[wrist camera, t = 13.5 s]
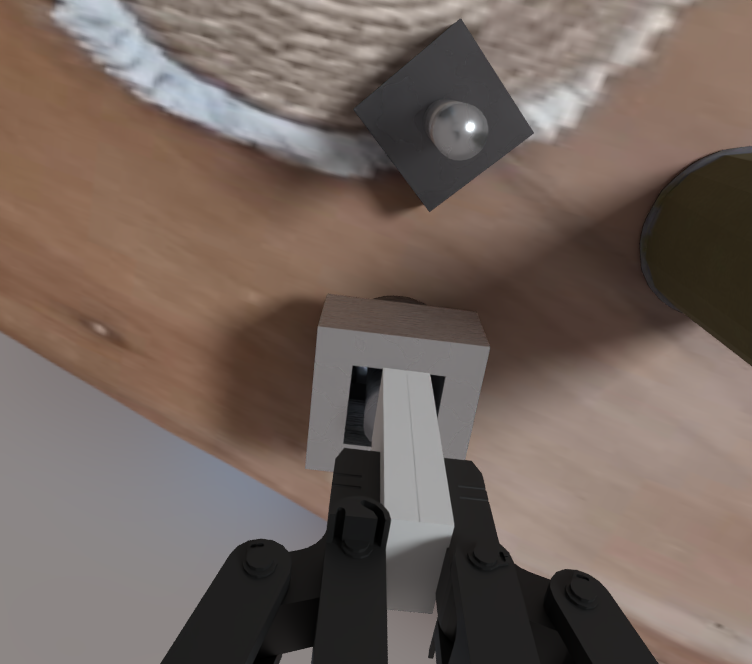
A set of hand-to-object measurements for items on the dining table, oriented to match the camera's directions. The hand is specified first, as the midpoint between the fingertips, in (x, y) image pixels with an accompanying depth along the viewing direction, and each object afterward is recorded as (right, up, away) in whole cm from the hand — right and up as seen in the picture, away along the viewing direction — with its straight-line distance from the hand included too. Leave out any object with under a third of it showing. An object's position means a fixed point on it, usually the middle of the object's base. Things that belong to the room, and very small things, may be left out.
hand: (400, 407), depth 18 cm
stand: (+3, +15, +14) cm, 20 cm away
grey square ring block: (0, 0, +18) cm, 18 cm away
